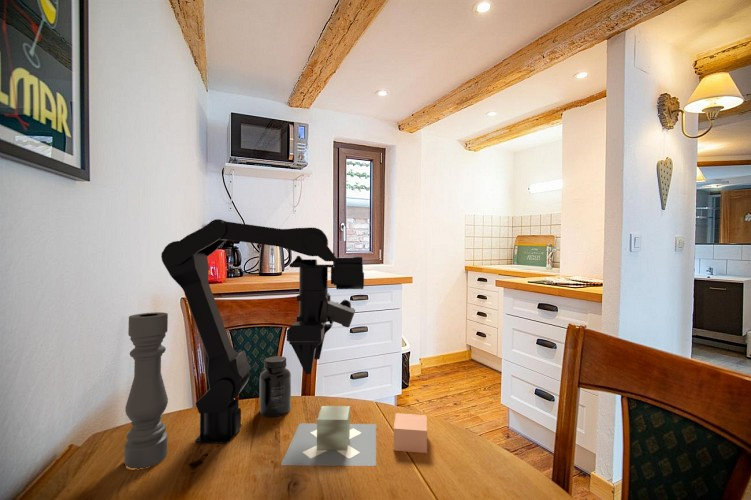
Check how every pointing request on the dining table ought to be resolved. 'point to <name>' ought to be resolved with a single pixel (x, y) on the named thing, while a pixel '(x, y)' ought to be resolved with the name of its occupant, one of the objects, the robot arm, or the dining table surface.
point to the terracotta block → (410, 433)
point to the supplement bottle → (275, 388)
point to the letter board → (356, 454)
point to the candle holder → (146, 392)
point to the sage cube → (333, 428)
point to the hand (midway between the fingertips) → (312, 366)
